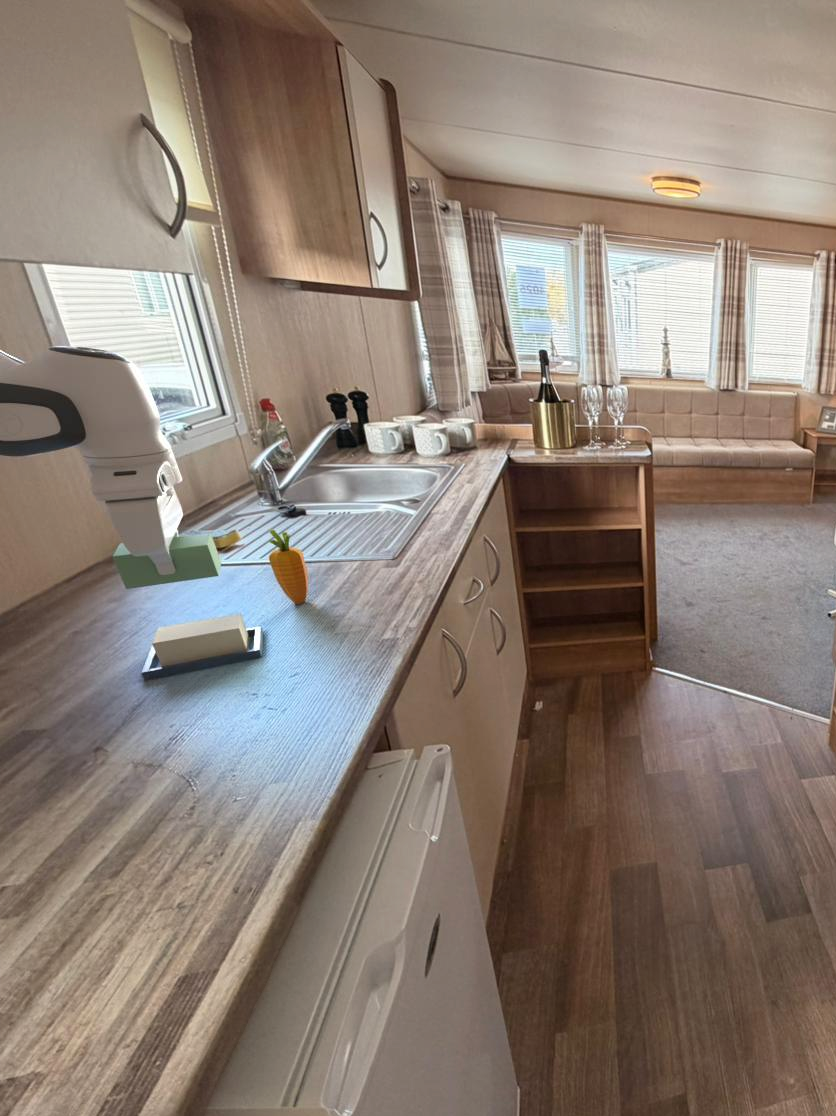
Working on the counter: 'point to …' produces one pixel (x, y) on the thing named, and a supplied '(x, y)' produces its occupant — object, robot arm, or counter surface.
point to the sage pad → (189, 556)
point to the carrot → (289, 568)
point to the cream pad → (200, 639)
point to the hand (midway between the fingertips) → (171, 564)
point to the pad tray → (152, 659)
